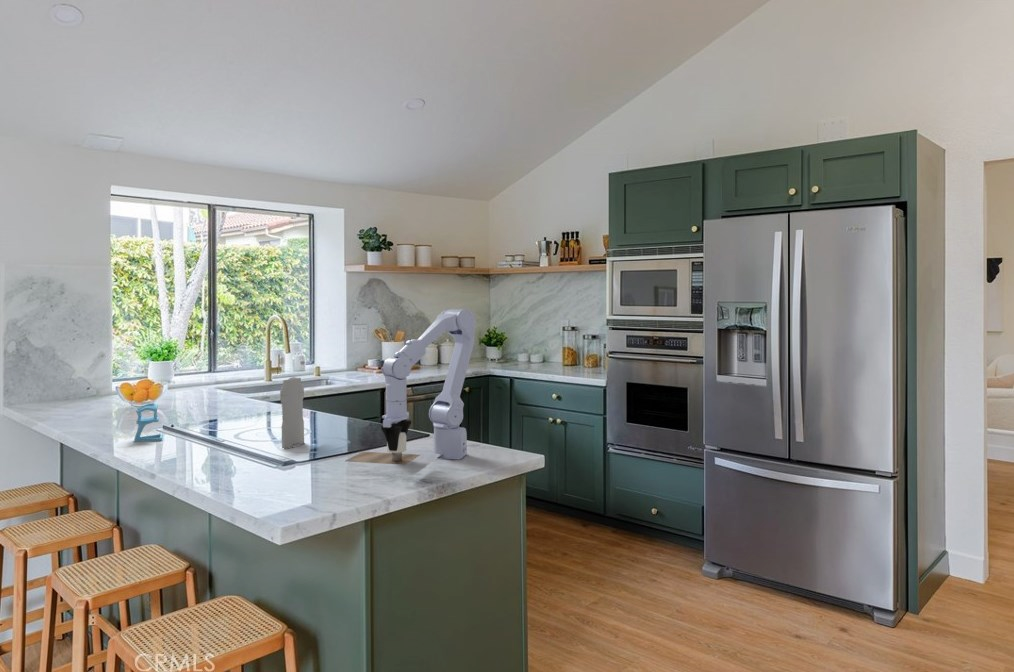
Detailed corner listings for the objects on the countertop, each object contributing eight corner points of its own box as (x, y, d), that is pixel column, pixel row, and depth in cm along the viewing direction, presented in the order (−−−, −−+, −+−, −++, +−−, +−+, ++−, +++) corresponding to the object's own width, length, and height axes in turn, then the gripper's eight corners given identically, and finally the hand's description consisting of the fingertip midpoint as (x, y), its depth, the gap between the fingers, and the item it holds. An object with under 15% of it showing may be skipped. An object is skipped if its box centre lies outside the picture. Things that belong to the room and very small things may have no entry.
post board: (420, 459, 206) (420, 441, 205) (405, 469, 194) (404, 449, 194) (362, 456, 210) (362, 438, 209) (344, 466, 198) (344, 446, 198)
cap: (408, 449, 200) (408, 431, 200) (401, 453, 196) (401, 435, 195) (391, 448, 202) (391, 431, 201) (384, 452, 197) (384, 434, 196)
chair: (135, 438, 236) (133, 403, 236) (162, 436, 240) (161, 401, 239) (133, 443, 229) (132, 406, 229) (162, 440, 233) (160, 404, 232)
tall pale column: (287, 449, 219) (285, 379, 218) (276, 448, 221) (275, 378, 219) (309, 443, 229) (308, 375, 228) (299, 442, 230) (298, 375, 229)
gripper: (392, 396, 206) (393, 442, 206) (372, 403, 192) (373, 453, 192) (415, 397, 204) (416, 443, 205) (396, 404, 190) (397, 454, 191)
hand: (396, 448), depth 199 cm, fingers closed on cap, 5 cm apart
